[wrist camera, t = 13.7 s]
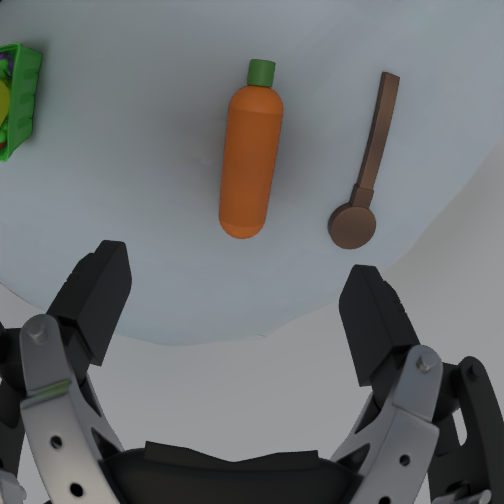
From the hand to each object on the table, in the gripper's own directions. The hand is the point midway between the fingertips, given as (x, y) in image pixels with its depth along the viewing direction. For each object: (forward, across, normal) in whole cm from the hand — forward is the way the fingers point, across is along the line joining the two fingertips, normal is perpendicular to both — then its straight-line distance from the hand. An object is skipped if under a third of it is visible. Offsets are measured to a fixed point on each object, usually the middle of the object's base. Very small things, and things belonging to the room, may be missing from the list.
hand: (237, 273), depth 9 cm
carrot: (+16, 0, +1) cm, 16 cm away
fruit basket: (+16, +24, -7) cm, 30 cm away
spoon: (+16, -11, -1) cm, 19 cm away
